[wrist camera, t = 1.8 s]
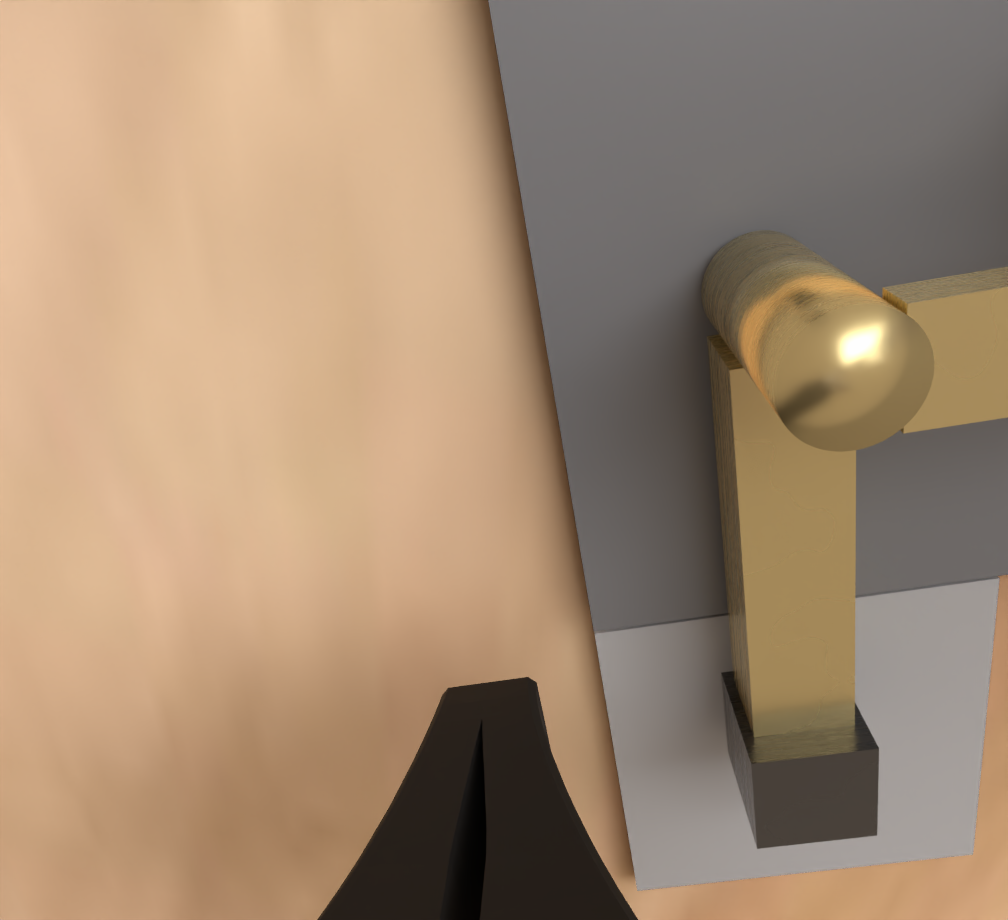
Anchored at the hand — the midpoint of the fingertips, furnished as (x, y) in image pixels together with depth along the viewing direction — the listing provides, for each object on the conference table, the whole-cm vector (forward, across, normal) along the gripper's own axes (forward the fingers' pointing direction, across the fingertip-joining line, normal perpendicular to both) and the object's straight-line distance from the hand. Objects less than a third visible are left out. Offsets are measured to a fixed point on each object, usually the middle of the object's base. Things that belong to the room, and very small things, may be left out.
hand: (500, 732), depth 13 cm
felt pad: (+5, -6, +6) cm, 9 cm away
